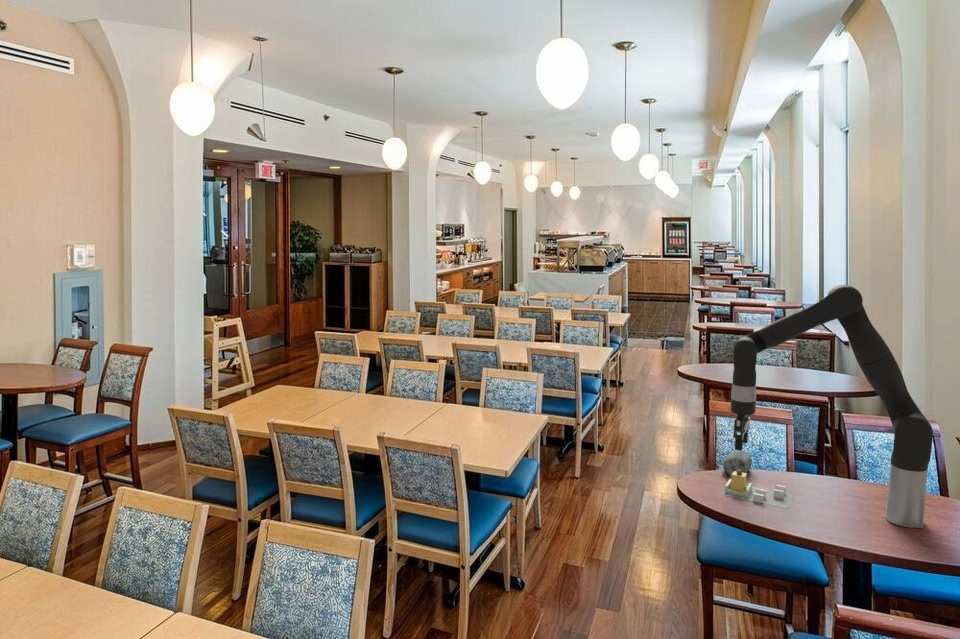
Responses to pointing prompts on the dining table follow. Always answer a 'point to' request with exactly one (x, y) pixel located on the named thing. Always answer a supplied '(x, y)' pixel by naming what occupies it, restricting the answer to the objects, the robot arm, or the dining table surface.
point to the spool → (737, 462)
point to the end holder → (748, 491)
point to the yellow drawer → (738, 481)
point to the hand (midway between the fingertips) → (741, 446)
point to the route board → (767, 497)
